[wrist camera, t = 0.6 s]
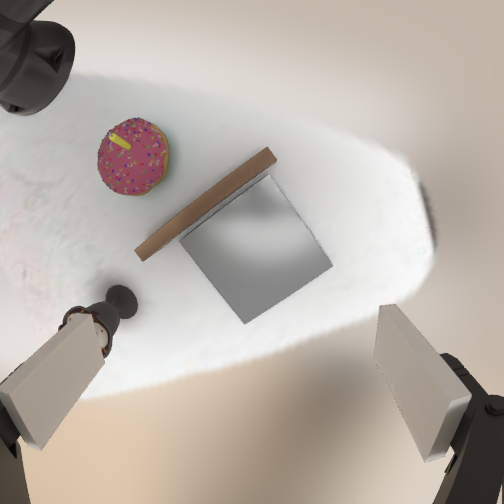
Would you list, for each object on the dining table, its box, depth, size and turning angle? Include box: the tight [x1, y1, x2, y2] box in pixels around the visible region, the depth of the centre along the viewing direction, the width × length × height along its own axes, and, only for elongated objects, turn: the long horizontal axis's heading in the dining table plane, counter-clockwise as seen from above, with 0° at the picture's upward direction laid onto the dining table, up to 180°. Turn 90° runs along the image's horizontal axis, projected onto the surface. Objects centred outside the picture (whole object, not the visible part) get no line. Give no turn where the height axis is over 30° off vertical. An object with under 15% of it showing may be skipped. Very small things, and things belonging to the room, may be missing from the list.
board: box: [179, 175, 333, 324], centre depth 38 cm, size 13×13×1 cm
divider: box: [134, 147, 277, 261], centre depth 35 cm, size 2×18×5 cm, turn 126°
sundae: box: [58, 285, 138, 358], centre depth 33 cm, size 7×7×15 cm
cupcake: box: [98, 118, 169, 196], centre depth 30 cm, size 9×8×12 cm
